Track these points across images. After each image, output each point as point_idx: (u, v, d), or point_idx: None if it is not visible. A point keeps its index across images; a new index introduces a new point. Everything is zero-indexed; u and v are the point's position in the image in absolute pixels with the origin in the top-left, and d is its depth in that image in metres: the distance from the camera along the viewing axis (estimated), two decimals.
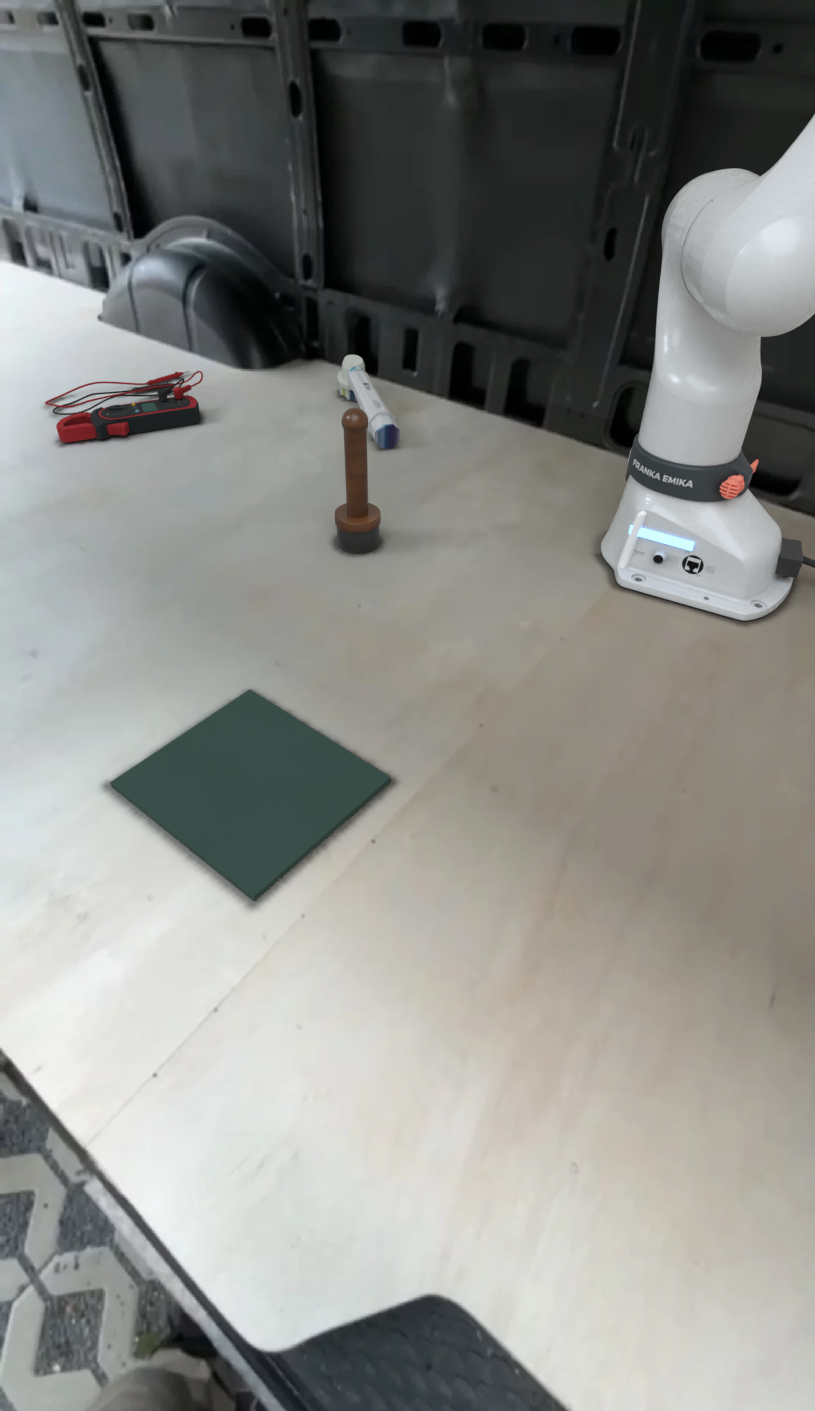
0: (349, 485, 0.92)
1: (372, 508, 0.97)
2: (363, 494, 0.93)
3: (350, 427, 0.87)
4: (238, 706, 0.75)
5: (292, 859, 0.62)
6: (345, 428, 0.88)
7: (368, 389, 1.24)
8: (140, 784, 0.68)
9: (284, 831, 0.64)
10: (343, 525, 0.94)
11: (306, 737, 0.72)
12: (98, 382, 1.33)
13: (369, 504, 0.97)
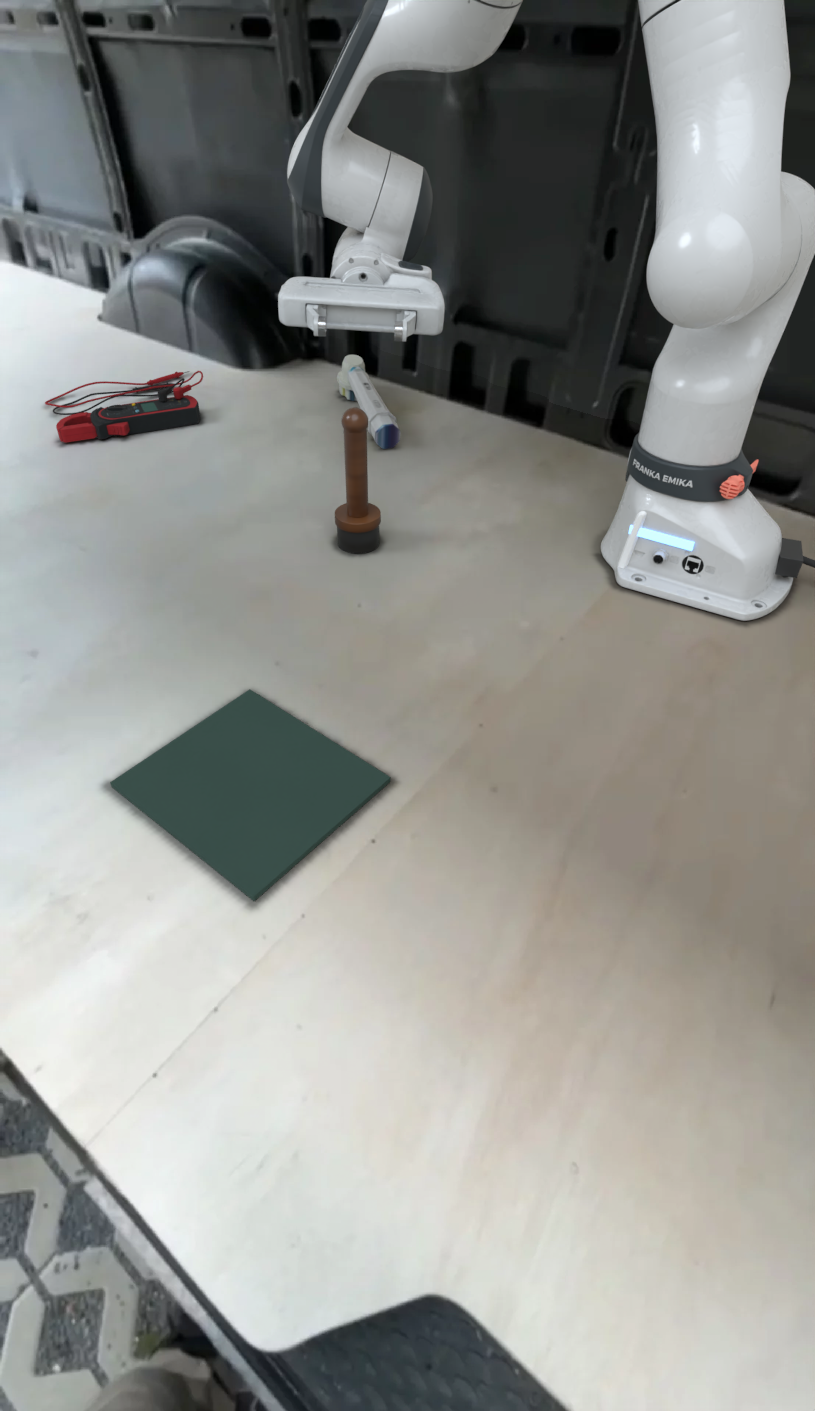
0: (349, 485, 0.92)
1: (372, 508, 0.97)
2: (363, 494, 0.93)
3: (350, 427, 0.87)
4: (238, 706, 0.75)
5: (292, 859, 0.62)
6: (345, 428, 0.88)
7: (368, 389, 1.24)
8: (140, 784, 0.68)
9: (284, 831, 0.64)
10: (343, 525, 0.94)
11: (306, 737, 0.72)
12: (98, 382, 1.33)
13: (369, 504, 0.97)
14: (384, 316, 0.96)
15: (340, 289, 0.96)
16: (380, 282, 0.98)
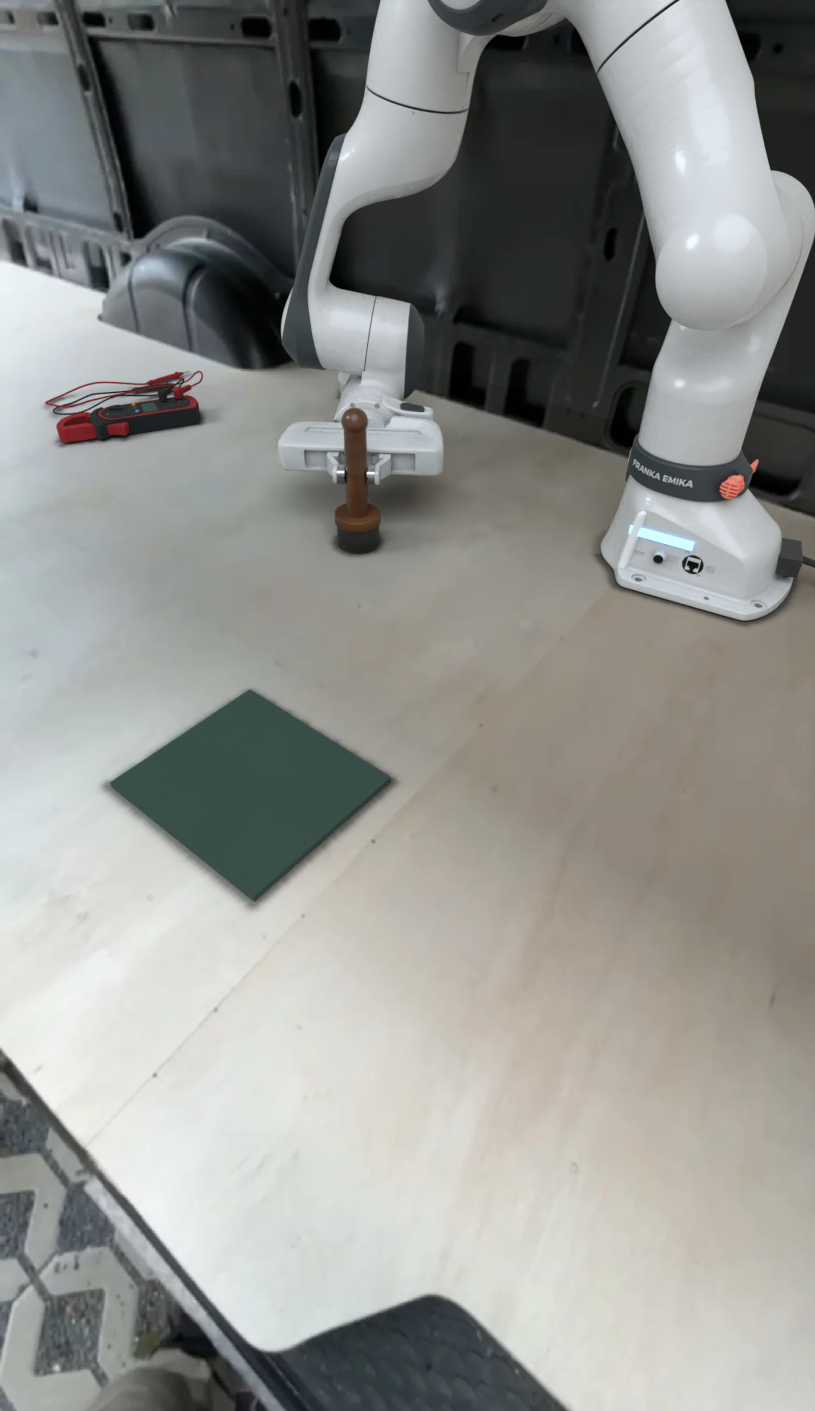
0: (349, 485, 0.92)
1: (372, 508, 0.97)
2: (363, 494, 0.93)
3: (350, 427, 0.87)
4: (238, 706, 0.75)
5: (292, 859, 0.62)
6: (345, 428, 0.88)
7: None
8: (140, 784, 0.68)
9: (284, 831, 0.64)
10: (343, 525, 0.94)
11: (306, 737, 0.72)
12: (98, 382, 1.33)
13: (369, 504, 0.97)
14: None
15: (340, 434, 0.97)
16: (381, 425, 0.98)
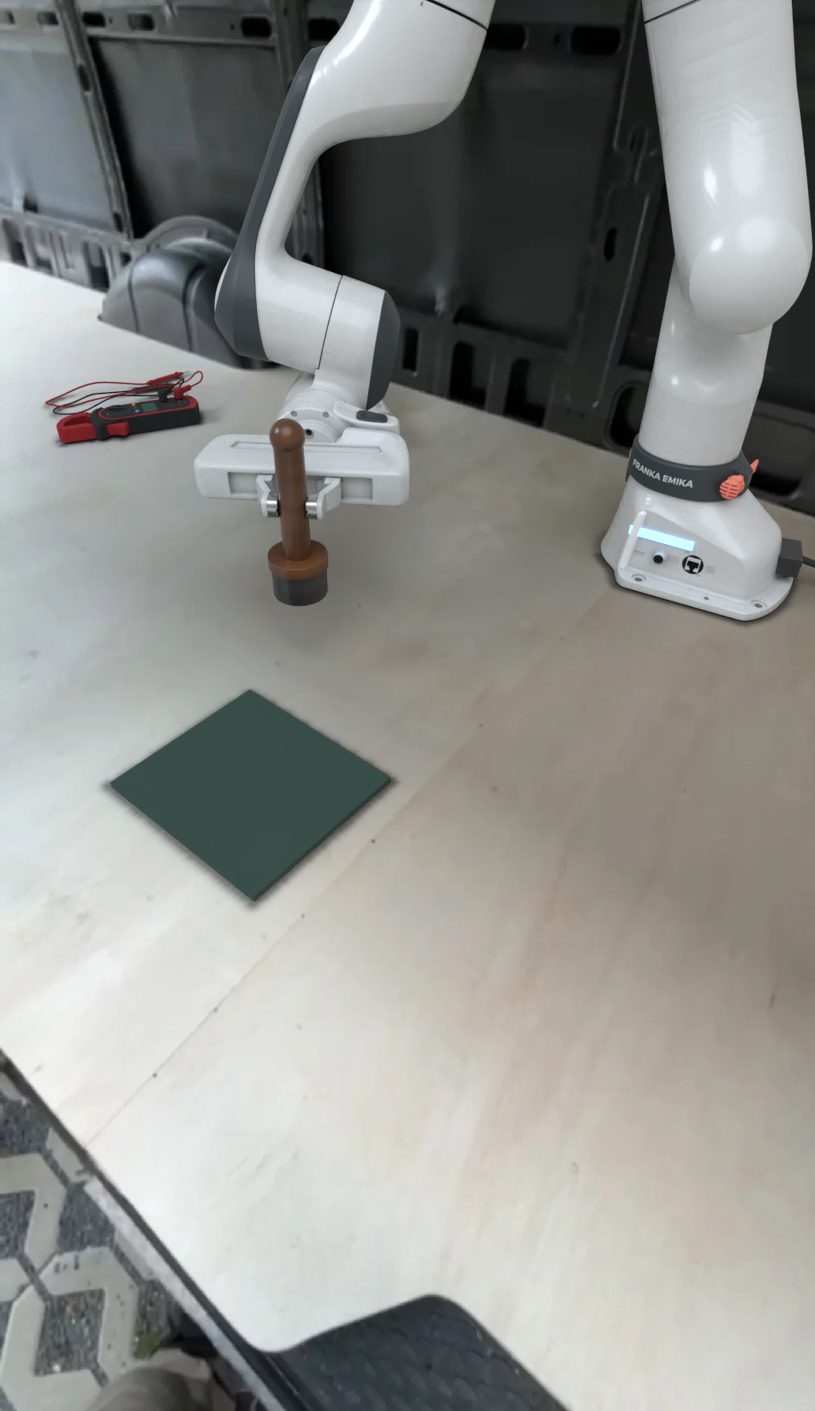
0: (284, 519, 0.70)
1: (317, 547, 0.74)
2: (303, 531, 0.71)
3: (280, 445, 0.65)
4: (238, 706, 0.75)
5: (292, 859, 0.62)
6: (274, 446, 0.66)
7: None
8: (140, 784, 0.68)
9: (284, 831, 0.64)
10: (277, 571, 0.72)
11: (306, 737, 0.72)
12: (98, 382, 1.33)
13: (314, 542, 0.75)
14: None
15: None
16: (330, 439, 0.76)
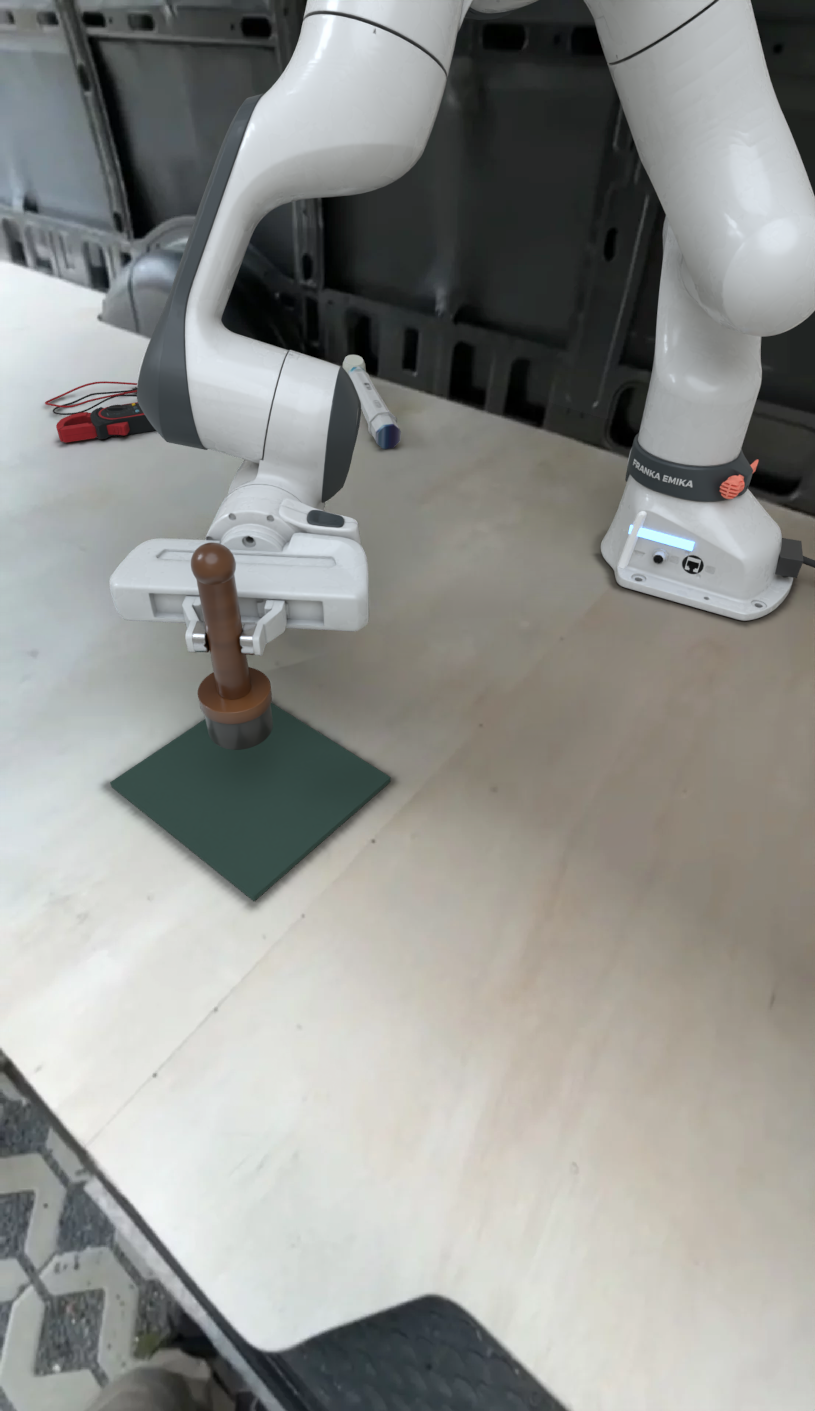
0: (214, 655, 0.58)
1: (258, 680, 0.62)
2: (238, 668, 0.59)
3: (203, 576, 0.53)
4: None
5: (292, 859, 0.62)
6: (196, 577, 0.53)
7: (369, 389, 1.24)
8: (140, 784, 0.68)
9: (284, 831, 0.64)
10: (209, 712, 0.60)
11: (306, 737, 0.72)
12: (98, 382, 1.33)
13: (255, 671, 0.63)
14: None
15: None
16: (275, 548, 0.64)
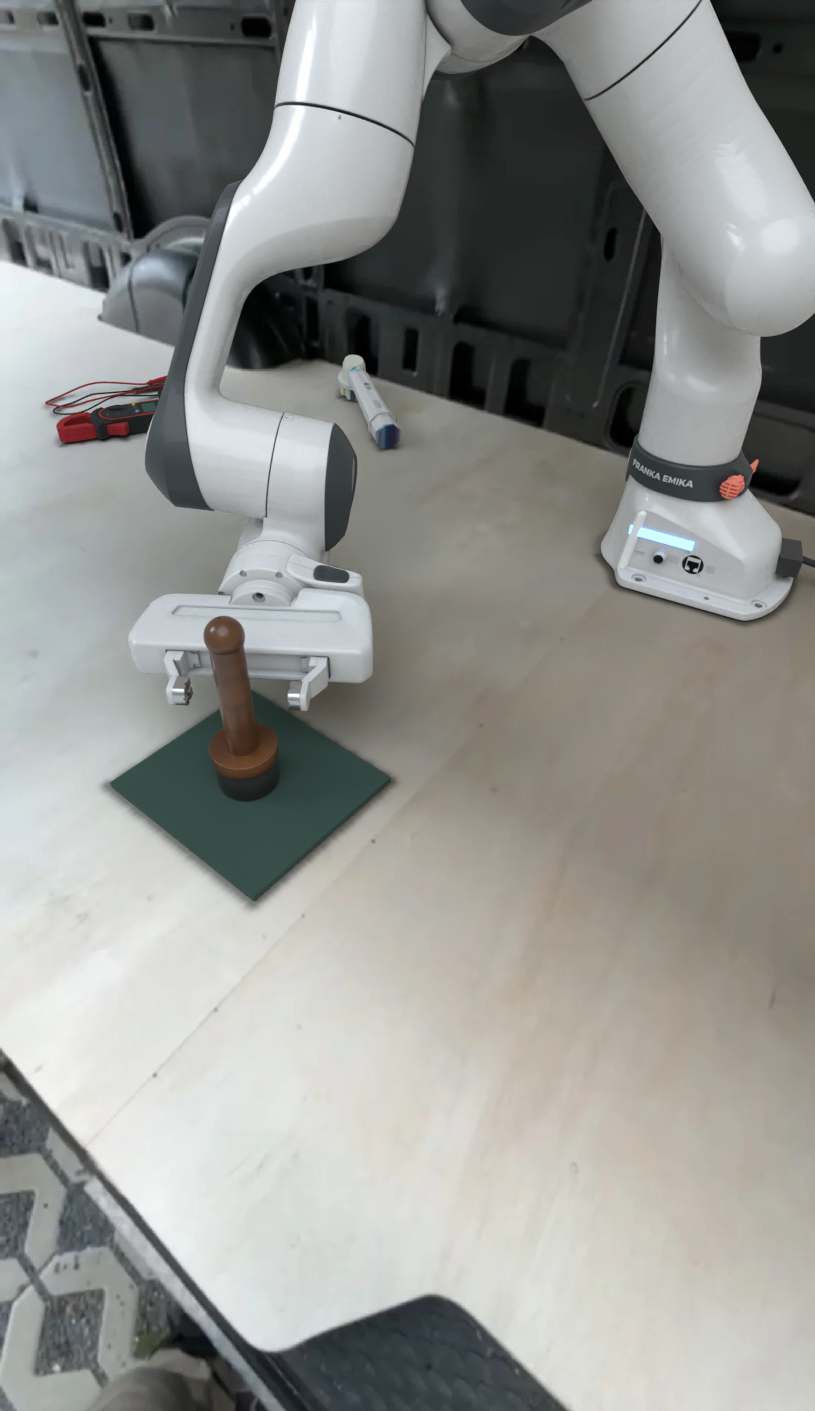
0: (225, 716, 0.62)
1: (266, 736, 0.66)
2: (247, 728, 0.63)
3: (215, 648, 0.57)
4: None
5: (292, 859, 0.62)
6: (208, 648, 0.57)
7: (369, 389, 1.24)
8: (140, 784, 0.68)
9: (284, 831, 0.64)
10: (219, 768, 0.64)
11: (306, 737, 0.72)
12: (98, 382, 1.33)
13: (263, 727, 0.67)
14: (284, 660, 0.65)
15: None
16: (284, 603, 0.67)
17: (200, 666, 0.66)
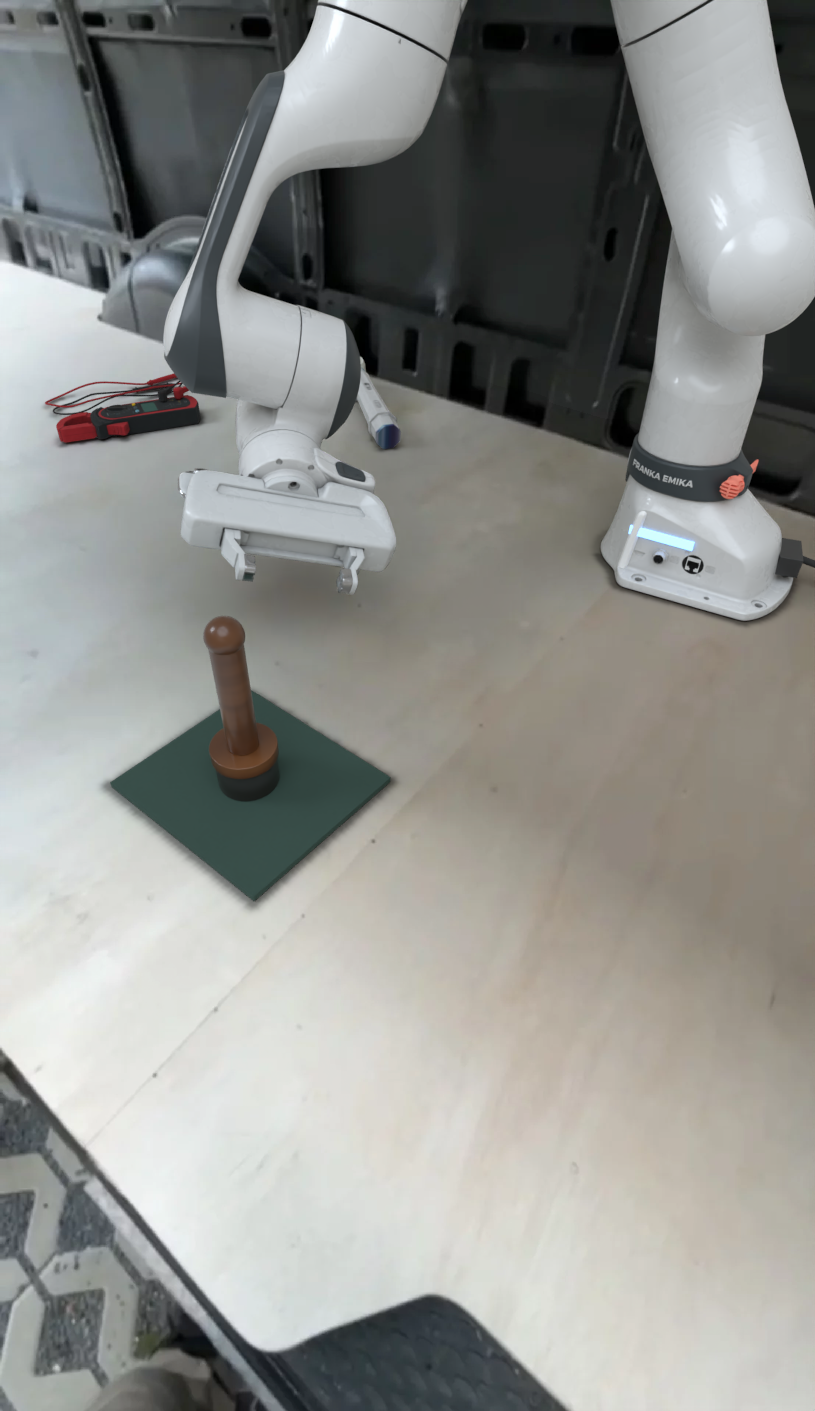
0: (225, 716, 0.62)
1: (266, 736, 0.66)
2: (247, 728, 0.63)
3: (215, 648, 0.57)
4: None
5: (292, 859, 0.62)
6: (208, 648, 0.57)
7: (369, 389, 1.24)
8: (140, 784, 0.68)
9: (284, 831, 0.64)
10: (219, 768, 0.64)
11: (306, 737, 0.72)
12: (98, 382, 1.33)
13: (263, 727, 0.67)
14: (321, 546, 0.75)
15: (266, 504, 0.73)
16: (314, 494, 0.77)
17: (244, 544, 0.73)
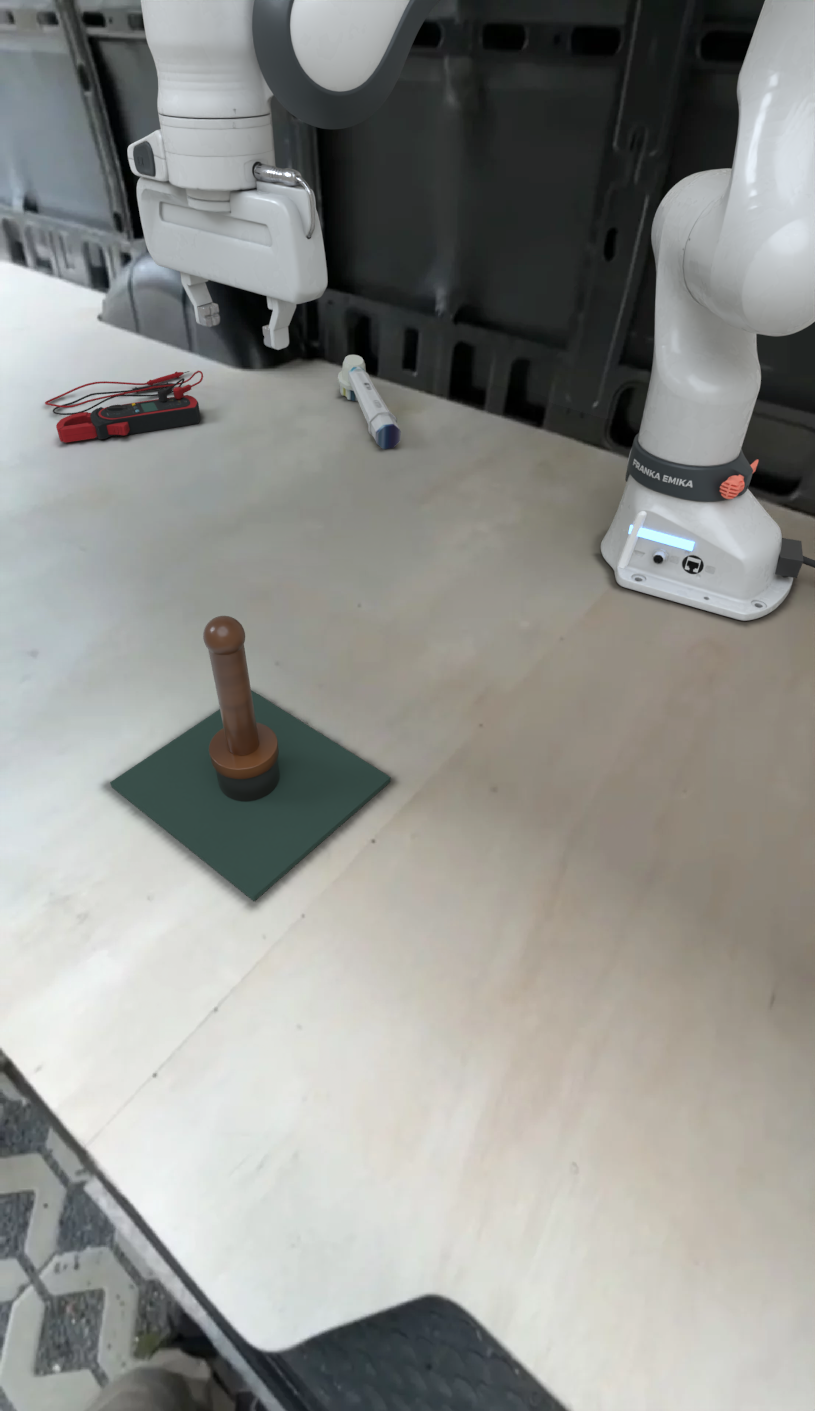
0: (225, 716, 0.62)
1: (266, 736, 0.66)
2: (247, 728, 0.63)
3: (215, 648, 0.57)
4: None
5: (292, 859, 0.62)
6: (208, 648, 0.57)
7: (369, 389, 1.24)
8: (140, 784, 0.68)
9: (284, 831, 0.64)
10: (219, 768, 0.64)
11: (306, 737, 0.72)
12: (98, 382, 1.33)
13: (263, 727, 0.67)
14: None
15: None
16: None
17: None
